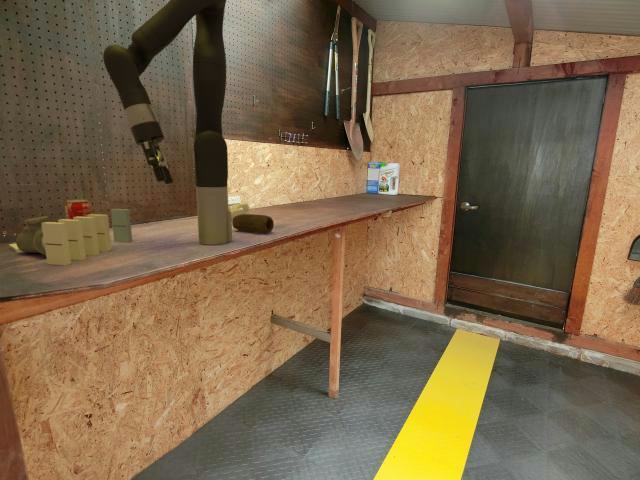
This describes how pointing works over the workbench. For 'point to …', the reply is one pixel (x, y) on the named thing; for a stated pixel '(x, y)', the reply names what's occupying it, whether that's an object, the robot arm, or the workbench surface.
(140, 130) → the robot arm
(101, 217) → the domino
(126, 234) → the domino
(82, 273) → the workbench surface
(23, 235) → the pipe fitting
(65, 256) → the domino
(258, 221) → the portable bluetooth speaker
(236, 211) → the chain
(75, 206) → the soda can
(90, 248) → the domino
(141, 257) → the workbench surface
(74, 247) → the domino
